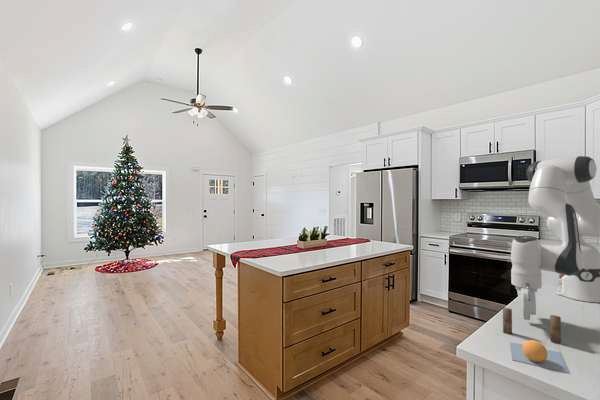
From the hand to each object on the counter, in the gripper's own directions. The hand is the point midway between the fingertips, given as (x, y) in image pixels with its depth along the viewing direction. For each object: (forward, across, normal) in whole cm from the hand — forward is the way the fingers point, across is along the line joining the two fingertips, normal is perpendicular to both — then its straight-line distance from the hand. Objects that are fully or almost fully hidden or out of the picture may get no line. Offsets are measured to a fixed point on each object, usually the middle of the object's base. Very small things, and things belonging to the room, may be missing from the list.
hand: (526, 318), depth 107 cm
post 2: (+2, -13, -6) cm, 15 cm away
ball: (-1, -30, +1) cm, 30 cm away
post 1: (+2, -13, +6) cm, 14 cm away
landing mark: (+2, -27, 0) cm, 27 cm away
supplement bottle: (+2, +69, -22) cm, 73 cm away
